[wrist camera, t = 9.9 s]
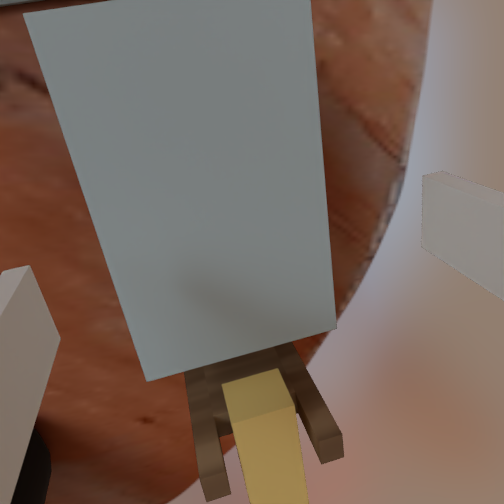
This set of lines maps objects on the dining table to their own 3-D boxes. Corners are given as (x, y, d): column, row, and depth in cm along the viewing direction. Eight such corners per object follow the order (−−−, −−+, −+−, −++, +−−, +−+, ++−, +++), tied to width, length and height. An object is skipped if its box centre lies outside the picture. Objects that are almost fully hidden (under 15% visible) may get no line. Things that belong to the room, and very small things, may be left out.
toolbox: (94, 26, 23) (50, -9, 11) (222, 6, 24) (301, -44, 12) (182, 342, 32) (206, 502, 20) (272, 318, 33) (344, 456, 21)
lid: (45, 23, 18) (22, 13, 14) (276, -12, 19) (308, -29, 16) (145, 335, 25) (146, 381, 21) (310, 292, 26) (336, 328, 23)
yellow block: (221, 384, 22) (231, 424, 20) (277, 368, 22) (294, 404, 20) (256, 528, 27) (267, 574, 25) (301, 513, 28) (316, 556, 25)
